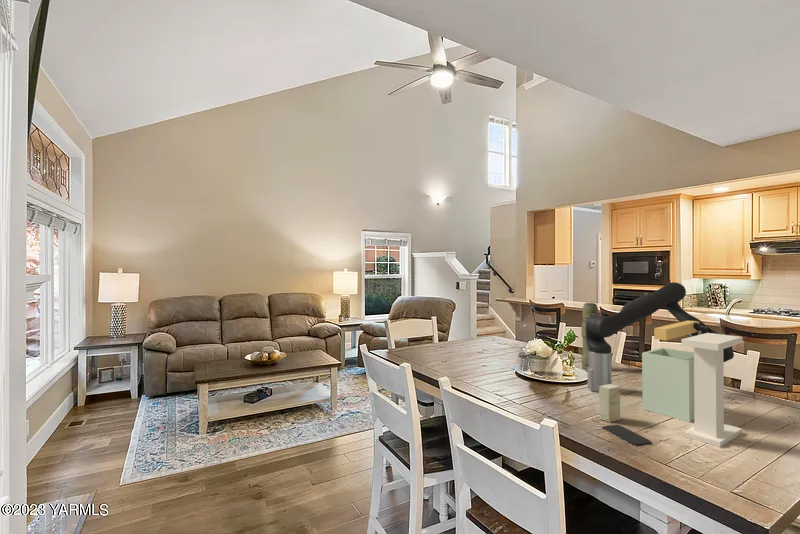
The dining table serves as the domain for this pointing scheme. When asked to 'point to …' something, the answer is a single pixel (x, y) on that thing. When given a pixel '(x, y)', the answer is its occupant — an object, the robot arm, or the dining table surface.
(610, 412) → the skincare box
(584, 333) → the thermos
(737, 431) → the shelf stand
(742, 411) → the dining table surface
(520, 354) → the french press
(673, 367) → the tote
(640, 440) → the phone
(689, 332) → the box
